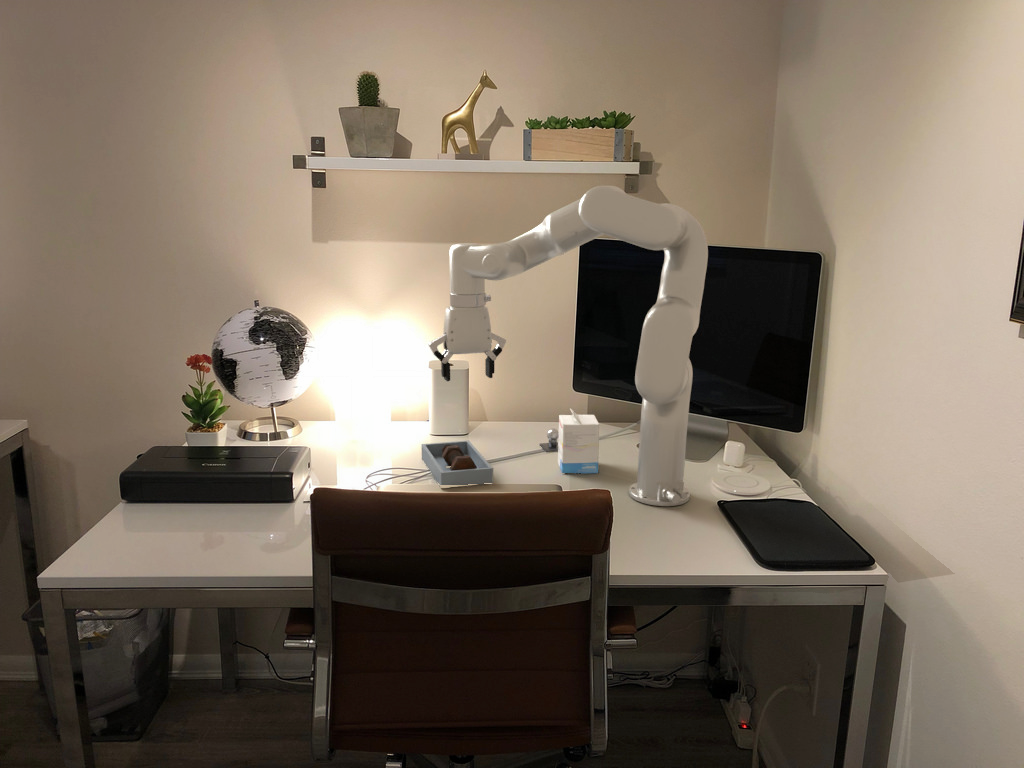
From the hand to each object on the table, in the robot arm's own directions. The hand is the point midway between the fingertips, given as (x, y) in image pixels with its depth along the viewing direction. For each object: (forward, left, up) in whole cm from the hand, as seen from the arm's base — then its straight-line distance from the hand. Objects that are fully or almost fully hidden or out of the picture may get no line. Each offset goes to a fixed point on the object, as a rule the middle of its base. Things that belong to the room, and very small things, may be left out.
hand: (468, 378), depth 183 cm
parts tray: (0, +3, -21) cm, 21 cm away
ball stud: (+10, -24, -21) cm, 33 cm away
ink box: (-5, -25, -21) cm, 33 cm away
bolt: (-1, +3, -21) cm, 21 cm away
